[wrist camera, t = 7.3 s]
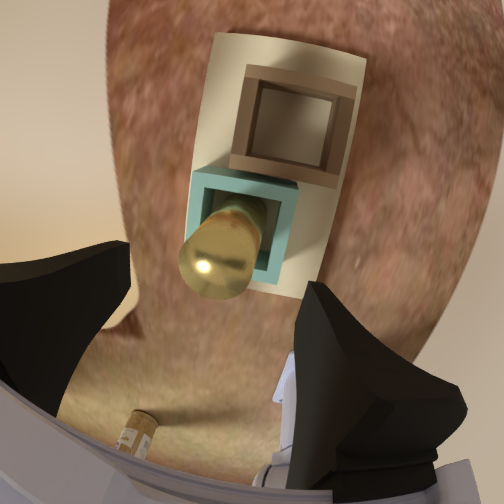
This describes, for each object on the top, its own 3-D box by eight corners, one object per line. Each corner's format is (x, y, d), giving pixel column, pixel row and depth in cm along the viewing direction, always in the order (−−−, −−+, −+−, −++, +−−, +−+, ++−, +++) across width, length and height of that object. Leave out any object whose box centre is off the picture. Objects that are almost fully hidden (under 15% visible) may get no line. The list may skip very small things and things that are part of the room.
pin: (272, 196, 18) (260, 240, 11) (262, 241, 20) (244, 307, 12) (224, 186, 18) (181, 223, 11) (217, 230, 20) (176, 289, 12)
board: (362, 62, 15) (366, 58, 14) (308, 293, 22) (309, 300, 21) (218, 36, 15) (215, 32, 14) (186, 268, 22) (182, 274, 21)
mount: (346, 94, 15) (357, 86, 12) (328, 181, 17) (336, 189, 15) (252, 75, 15) (246, 63, 12) (237, 162, 18) (228, 167, 15)
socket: (296, 181, 18) (299, 190, 15) (278, 264, 20) (277, 285, 17) (206, 165, 18) (192, 171, 15) (196, 247, 20) (183, 265, 18)
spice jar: (132, 405, 32) (96, 480, 20) (161, 419, 33) (131, 496, 20) (129, 417, 34) (98, 485, 22) (156, 430, 35) (130, 500, 22)
